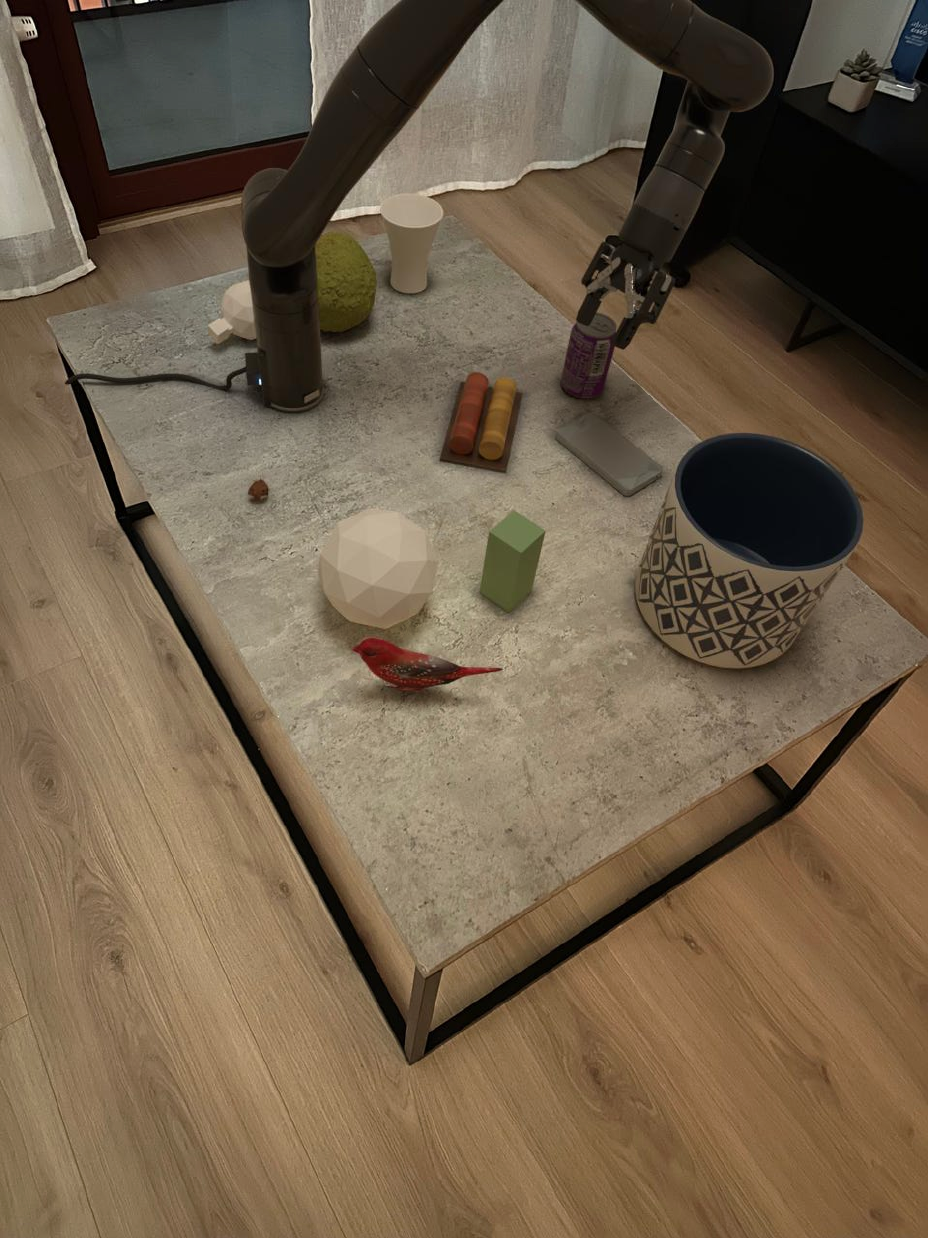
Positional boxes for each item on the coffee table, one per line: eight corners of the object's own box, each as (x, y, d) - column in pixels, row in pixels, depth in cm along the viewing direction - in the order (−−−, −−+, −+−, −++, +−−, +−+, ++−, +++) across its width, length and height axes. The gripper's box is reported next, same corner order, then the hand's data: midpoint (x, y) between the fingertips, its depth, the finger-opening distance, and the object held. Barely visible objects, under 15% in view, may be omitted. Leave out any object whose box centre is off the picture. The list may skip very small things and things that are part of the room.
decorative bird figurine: (352, 676, 109) (351, 628, 101) (497, 686, 110) (507, 640, 102) (350, 696, 108) (348, 649, 99) (497, 707, 108) (507, 661, 100)
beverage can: (609, 382, 147) (626, 319, 137) (594, 407, 143) (610, 344, 133) (569, 368, 148) (582, 304, 139) (553, 392, 144) (566, 328, 135)
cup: (372, 294, 156) (373, 220, 145) (386, 261, 162) (387, 188, 151) (432, 305, 155) (437, 231, 145) (443, 271, 162) (448, 199, 151)
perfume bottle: (252, 295, 150) (195, 332, 145) (253, 258, 141) (192, 295, 137) (288, 331, 149) (232, 369, 144) (291, 296, 140) (231, 335, 136)
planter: (763, 702, 112) (830, 603, 96) (604, 617, 118) (642, 511, 102) (820, 588, 124) (888, 483, 108) (673, 516, 130) (717, 407, 114)
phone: (590, 416, 142) (591, 410, 140) (664, 475, 135) (666, 469, 134) (552, 436, 138) (554, 430, 137) (627, 498, 131) (629, 492, 130)
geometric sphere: (378, 602, 123) (412, 499, 118) (436, 653, 112) (476, 542, 108) (284, 592, 113) (318, 481, 109) (338, 647, 103) (378, 525, 98)
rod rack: (506, 473, 132) (509, 451, 129) (439, 460, 133) (441, 439, 129) (522, 395, 143) (525, 374, 140) (460, 384, 143) (462, 362, 140)
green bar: (508, 613, 117) (521, 553, 107) (479, 592, 119) (488, 531, 109) (531, 591, 120) (546, 530, 110) (502, 571, 121) (514, 509, 112)
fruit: (262, 319, 149) (268, 220, 143) (332, 321, 159) (340, 229, 153) (320, 338, 139) (328, 233, 133) (391, 340, 149) (402, 242, 143)
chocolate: (254, 507, 124) (251, 487, 121) (246, 497, 125) (243, 477, 122) (273, 499, 125) (271, 479, 122) (266, 489, 126) (263, 469, 123)
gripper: (609, 188, 116) (551, 308, 122) (676, 218, 106) (610, 347, 113) (647, 210, 120) (589, 324, 127) (715, 241, 111) (649, 363, 117)
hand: (599, 335), depth 120 cm, fingers open, 8 cm apart
